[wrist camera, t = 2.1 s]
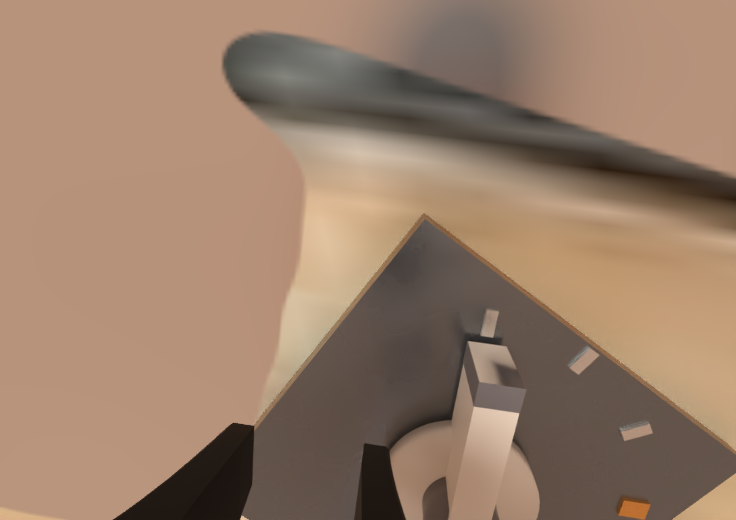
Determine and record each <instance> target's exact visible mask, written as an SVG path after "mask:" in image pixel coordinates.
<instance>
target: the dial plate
mask: <svg viewBox="0 0 736 520" xmlns="http://www.w3.org/2000/svg"><path fill="white" fill-rule="evenodd" d="M467 341H472V342H479V343H486V344H494V345H501V346H507V348H508V350H509V352H510V354H511V356H512V358H513V361H514V363H515V365H516V367H517V369H518V372H519V374H520V376H521V378H522V380H523V383H524V385H525V387H526V389H527V390H526V393H525V397H524V401H523V405H522V409H521V412H520V413H519V417H518V421H517V425H516V428H515V432H514V436H513V440H512V441H514V443H515V444H516V445H517V446H518V447H519V448H520V449H521V451H522V452H523V454H524V455H525V457H526V459H527V461H528V463H529V466H530V468H531V471H532V474H533V477H534V479H535V482H536V485H537V488H538V492H539V499H540V504H539V512H538V517H537V519H536V520H672V519H673V518H674V517H676V516H677V515H678V514H680V513H681V512H683V511H684V510H685V509H687V508H688V507H689V506H691V505H692V504H694V503H695V502H696V501H698V500H699V499H700V498H702V497H703V496H705V495H706V494H707V493H709V492H710V491H711V490H713V489H714V488H716V487H717V486H718V485H720V484H721V483H723V482H724V481H725V480H727V479H728V478H729V477H731V476H732V475H734V474H735V473H736V452H735V451H734V450H733V449H732V448H731V447H730V446H729V445H728V444H727V443H726V442H724V441H723V440H722V439H720V438H719V437H718V436H716V435H715V434H714V433H712V432H711V431H710V430H708V429H707V428H706V427H705V426H703V425H702V424H701V423H699V422H698V421H697V420H695V419H694V418H693V417H691V416H690V415H689V414H687V413H686V412H685V411H683V410H682V409H681V408H680V407H678V406H677V405H676V404H674V403H673V402H672V401H670V400H669V399H668V398H666V397H665V396H664V395H662V394H661V393H660V392H659V391H657V390H656V389H655V388H653V387H652V386H651V385H649V384H648V383H647V382H645V381H644V380H643V379H641V378H640V377H639V376H637V375H636V374H635V373H634V372H632V371H631V370H630V369H628V368H627V367H626V366H624V365H623V364H622V363H620V362H619V361H618V360H616V359H615V358H614V357H612V356H611V355H610V354H609V353H607V352H606V351H605V350H603V349H602V348H601V347H599V346H598V345H597V344H595V343H594V342H593V341H591V340H590V339H589V338H587V337H586V336H585V335H584V334H582V333H581V332H580V331H578V330H577V329H576V328H574V327H573V326H572V325H570V324H569V323H568V322H566V321H565V320H564V319H562V318H561V317H560V316H559V315H557V314H556V313H555V312H553V311H552V310H551V309H549V308H548V307H547V306H545V305H544V304H543V303H541V302H540V301H539V300H537V299H536V298H535V297H534V296H532V295H531V294H530V293H528V292H527V291H526V290H524V289H523V288H522V287H520V286H519V285H518V284H516V283H515V282H514V281H513V280H511V279H510V278H509V277H507V276H506V275H505V274H503V273H502V272H501V271H499V270H498V269H497V268H495V267H494V266H493V265H491V264H490V263H489V262H488V261H486V260H485V259H484V258H482V257H481V256H480V255H478V254H477V253H476V252H474V251H473V250H472V249H470V248H469V247H468V246H466V245H465V244H464V243H463V242H461V241H460V240H459V239H457V238H456V237H455V236H453V235H452V234H451V233H449V232H448V231H447V230H445V229H444V228H443V227H441V226H440V225H439V224H438V223H436V222H435V221H434V220H432V219H431V218H430V217H428V216H427V215H426V214H423V215H422V216H421V217H420V219H419V220H418V221H417V222H416V224H415V225H414V226H413V227H412V229H411V230H410V231H409V232H408V234H407V235H406V236H405V237H404V239H403V240H402V241H401V242H400V244H399V245H398V246H397V247H396V249H395V250H394V251H393V252H392V254H391V255H390V256H389V257H388V259H387V260H386V261H385V262H384V264H383V265H382V266H381V267H380V269H379V270H378V271H377V272H376V274H375V275H374V276H373V277H372V279H371V280H370V281H369V282H368V284H367V285H366V286H365V287H364V289H363V290H362V291H361V292H360V294H359V295H358V296H357V297H356V299H355V300H354V301H353V302H352V304H351V305H350V306H349V307H348V309H347V310H346V311H345V312H344V314H343V315H342V316H341V317H340V319H339V320H338V321H337V322H336V324H335V325H334V326H333V327H332V329H331V330H330V331H329V332H328V334H327V335H326V336H325V337H324V339H323V340H322V341H321V342H320V344H319V345H318V346H317V347H316V349H315V350H314V351H313V352H312V354H311V355H310V356H309V357H308V359H307V360H306V361H305V362H304V364H303V365H302V366H301V367H300V369H299V370H298V371H297V372H296V374H295V375H294V376H293V377H292V379H291V380H290V381H289V382H288V384H287V385H286V386H285V387H284V389H283V390H282V391H281V392H280V394H279V395H278V396H277V397H276V399H275V400H274V401H273V402H272V404H271V405H270V406H269V407H268V409H267V410H266V411H265V412H264V414H263V415H262V416H261V417H260V419H259V420H258V421H257V422H256V424H255V425H254V451H253V479H252V486H251V489H250V492H249V495H248V498H247V501H246V504H245V507H244V510H243V512H242V516H244V517H246V518H247V519H249V520H354V516H355V509H356V501H357V494H358V486H359V478H360V471H361V463H362V456H363V449H364V443H367V444H374V445H380V446H386V447H387V448H388V449H389V450H391V448H392V447H393V446H394V445H395V444H396V442H398V441H399V440H400V439H401V438H402V437H403V436H405V435H406V434H408V433H409V432H410V431H412V430H414V429H416V428H418V427H421V426H423V425H426V424H429V423H433V422H437V421H445V420H452V416H453V411H454V406H455V401H456V397H457V392H458V387H459V382H460V377H461V372H462V367H463V359H464V354H465V350H466V345H467Z"/></svg>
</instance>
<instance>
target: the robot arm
mask: <svg viewBox="0 0 736 520" xmlns="http://www.w3.org/2000/svg"><path fill="white" fill-rule="evenodd" d="M253 451H254V426H251V425H244V424H238V423H232V424H231V425H230V426H228V427H227V428H226V429H225V430H224V431H223V432H222V433H220V434H219V435H218V436H217V437H216V438H215V439H214V440H213V441H212V442H211V443H209V444H208V445H207V446H206V447H205V448H204V449H203V450H202V451H200V452H199V453H198V454H197V455H196V456H195V457H194V458H192V459H191V460H190V461H189V462H188V463H186V464H185V465H184V466H183V467H182V468H181V469H179V470H178V471H177V472H176V473H175V474H174V475H172V476H171V477H170V478H169V479H167V480H166V481H165V482H163V483H162V484H161V485H160V486H158V487H157V488H156V489H155V490H153V491H152V492H151V493H149V494H148V495H147V496H145V497H144V498H143V499H141V500H140V501H139V502H137V503H136V504H135V505H133V506H132V507H130V508H129V509H128V510H126V511H125V512H123V513H122V514H121V515H119V516H118V517H116V518H115V519H113V520H240V518H241V515H242V512H243V510H244V507H245V504H246V501H247V498H248V495H249V492H250V489H251V486H252V479H253ZM354 520H406V518H405V515H404V512H403V508H402V505H401V502H400V499H399V495H398V492H397V488H396V484H395V480H394V476H393V471H392V466H391V459H390V450H389V449H388V448H387V447H386V446H380V445H374V444H367V443H364V449H363V456H362V463H361V471H360V478H359V486H358V494H357V501H356V509H355V516H354Z"/></svg>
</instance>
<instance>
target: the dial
mask: <svg viewBox="0 0 736 520" xmlns="http://www.w3.org/2000/svg"><path fill="white" fill-rule="evenodd" d="M526 390H527V389H526V387H525V385H524V383H523V380H522V378H521V376H520V374H519V372H518V369H517V367H516V365H515V363H514V361H513V358H512V356H511V354H510V352H509V350H508V348H507V346H501V345H494V344H486V343H479V342H472V341H467V345H466V350H465V354H464V359H463V367H462V372H461V377H460V382H459V387H458V392H457V397H456V401H455V406H454V411H453V416H452V420H445V421H437V422H433V423H429V424H426V425H423V426H421V427H418V428H416V429H414V430H412V431H410V432H409V433H408V434H406V435H405V436H403V437H402V438H401V439H400V440H399V441H398V442H396V444H395V445H394V446H393V447H392V448H391V450H390V459H391V466H392V471H393V476H394V480H395V484H396V488H397V492H398V495H399V499H400V502H401V505H402V508H403V512H404V515H405V518H406V520H536V519H537V517H538V512H539V504H540V499H539V492H538V488H537V485H536V482H535V479H534V477H533V474H532V471H531V468H530V466H529V463H528V461H527V459H526V457H525V455H524V454H523V452H522V451H521V449H520V448H519V447H518V446H517V445H516V444H515V443H514V441H512V440H513V436H514V432H515V428H516V425H517V421H518V417H519V413H520V412H521V409H522V405H523V401H524V397H525V393H526Z"/></svg>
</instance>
